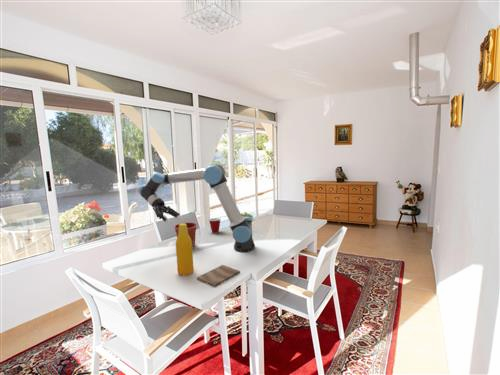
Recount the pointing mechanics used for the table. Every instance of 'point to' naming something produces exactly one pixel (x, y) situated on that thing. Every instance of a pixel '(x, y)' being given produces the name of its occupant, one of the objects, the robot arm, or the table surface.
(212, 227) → the plastic cup
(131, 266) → the table surface
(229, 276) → the walnut board
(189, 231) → the flower pot
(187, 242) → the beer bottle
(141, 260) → the table surface
